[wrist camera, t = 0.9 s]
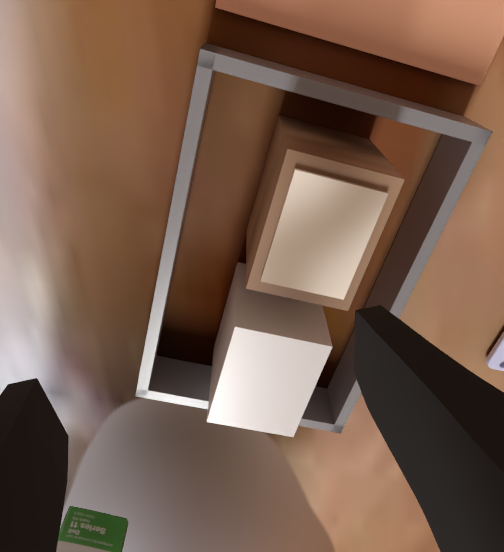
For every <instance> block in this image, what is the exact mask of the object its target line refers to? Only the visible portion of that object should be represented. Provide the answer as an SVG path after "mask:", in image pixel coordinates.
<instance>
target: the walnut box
mask: <svg viewBox="0 0 504 552" xmlns="http://www.w3.org/2000/svg"><path fill="white" fill-rule="evenodd" d="M404 180H405V179H404V178H403V177H402V176H401V175H400V173H399V172H398V171H397V170H396V169H395V168H394V167H393V166H392V164H391V163H390V162H389V161H388V160H387V159H386V158H385V156H384V155H383V154H382V153H381V152H380V151H379V150H378V149H377V147H376V146H375V145H374V144H373V143H372V142H371V141H370V140H369V139H366V138H363V137H359V136H355V135H352V134H348V133H344V132H340V131H337V130H333V129H329V128H326V127H322V126H318V125H315V124H311V123H307V122H303V121H300V120H296V119H292V118H289V117H285V116H281V115H278V118H277V122H276V126H275V129H274V133H273V136H272V140H271V144H270V147H269V151H268V154H267V158H266V162H265V165H264V169H263V172H262V176H261V180H260V183H259V187H258V190H257V194H256V197H255V201H254V205H253V208H252V212H251V215H250V219H249V223H248V226H247V239H246V289H250V290H255V291H259V292H264V293H268V294H273V295H278V296H282V297H287V298H291V299H296V300H300V301H305V302H309V303H314V304H319V305H323V306H328V307H332V308H337V309H341V310H346V311H348V309H349V307H350V305H351V303H352V300H353V298H354V296H355V293H356V291H357V289H358V286H359V284H360V282H361V280H362V277H363V275H364V273H365V270H366V268H367V266H368V263H369V261H370V259H371V256H372V254H373V252H374V250H375V247H376V245H377V243H378V240H379V238H380V236H381V233H382V231H383V229H384V227H385V224H386V222H387V220H388V217H389V215H390V213H391V210H392V208H393V206H394V204H395V201H396V199H397V197H398V194H399V192H400V190H401V187H402V185H403V183H404Z"/></svg>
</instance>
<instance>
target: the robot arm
mask: <svg viewBox="0 0 504 552" xmlns="http://www.w3.org/2000/svg"><path fill="white" fill-rule="evenodd" d="M503 361H504V332H503V333H502V335H501V336H500V338H499V339H498V341H497V342H496V344H495V346H494V347H493V349H492V350H491V352H490V353H489V355H488V356H487V358H486V363H487V365H488V366H489V367H490V368H492V369H496V370H501V371H504V362H503ZM501 362H503V363H501ZM500 363H501V364H500ZM354 374H355V377H356V379H357V382H358V385H359V387H360V390H361V392H362V395H363V397H364V400H365V402H366V405H367V407H368V409H369V412H370V413H371V415H372V417H373V419H374V421H375V423H376V425H377V427H378V428H379V430H380V432H381V434H382V436H383V438H384V440H385V441H386V443H387V445H388V447H389V449H390V451H391V452H392V454H393V456H394V458H395V460H396V462H397V463H398V465H399V467H400V469H401V471H402V472H403V474H404V476H405V478H406V480H407V482H408V483H409V485H410V487H411V489H412V491H413V493H414V494H415V496H416V498H417V500H418V502H419V504H420V506H421V508H422V510H423V512H424V514H425V516H426V519H427V521H428V523H429V526H430V528H431V530H432V533H433V535H434V537H435V540H436V542H437V544H438V547H439V549H440V551H441V552H504V393H503V392H502V391H500V390H499V389H497V388H495V387H494V386H492V385H491V384H489V383H488V382H486V381H484V380H483V379H481V378H480V377H478V376H477V375H475V374H474V373H472V372H471V371H469V370H468V369H466V368H465V367H463V366H462V365H461V364H459V363H458V362H456V361H455V360H454V359H452V358H451V357H449V356H448V355H447V354H445V353H444V352H442V351H441V350H439V349H438V348H437V347H435V346H434V345H433V344H431V343H430V342H429V341H427V340H426V339H425V338H423V337H422V336H421V335H419V334H418V333H417V332H415V331H414V330H413V329H411V328H410V327H409V326H408V325H406V324H405V323H404V322H402V321H401V320H400V319H399V318H397V317H396V316H395V315H393V314H392V313H391V312H389V311H388V310H387V309H385V308H384V307H383V306H381V305H378V306H373V307H369V308H364V309H359V310H355V340H354ZM67 472H68V434H67V433H66V431H65V429H64V427H63V425H62V423H61V422H60V420H59V418H58V416H57V414H56V412H55V411H54V409H53V407H52V405H51V403H50V401H49V399H48V398H47V396H46V394H45V392H44V390H43V388H42V387H41V385H40V383H39V381H38V379H37V378H36V379H31V380H26V381H22V382H17V383H12V384H8V385H7V387H6V388H5V389H4V391H3V392H2V394H1V395H0V552H56V550H57V544H58V537H59V531H60V525H61V518H62V512H63V506H64V499H65V493H66V486H67Z"/></svg>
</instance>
